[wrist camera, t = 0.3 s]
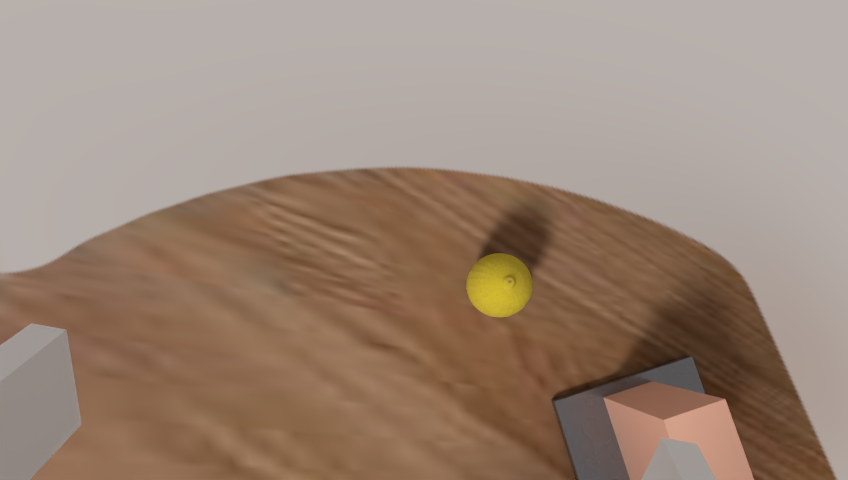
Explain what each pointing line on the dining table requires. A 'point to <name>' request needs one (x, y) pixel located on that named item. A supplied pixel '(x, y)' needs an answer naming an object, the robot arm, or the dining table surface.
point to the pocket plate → (591, 425)
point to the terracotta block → (676, 428)
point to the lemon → (499, 285)
